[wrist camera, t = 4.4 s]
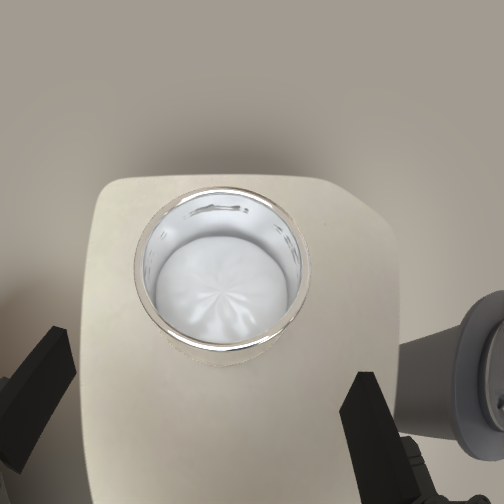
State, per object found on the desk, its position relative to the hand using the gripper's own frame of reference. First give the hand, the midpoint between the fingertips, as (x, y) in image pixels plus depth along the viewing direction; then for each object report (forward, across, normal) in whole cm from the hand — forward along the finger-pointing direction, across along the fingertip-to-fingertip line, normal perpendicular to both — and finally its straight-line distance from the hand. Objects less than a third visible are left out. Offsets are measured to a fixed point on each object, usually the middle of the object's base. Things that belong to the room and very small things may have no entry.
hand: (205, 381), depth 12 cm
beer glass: (+11, 0, -5) cm, 13 cm away
